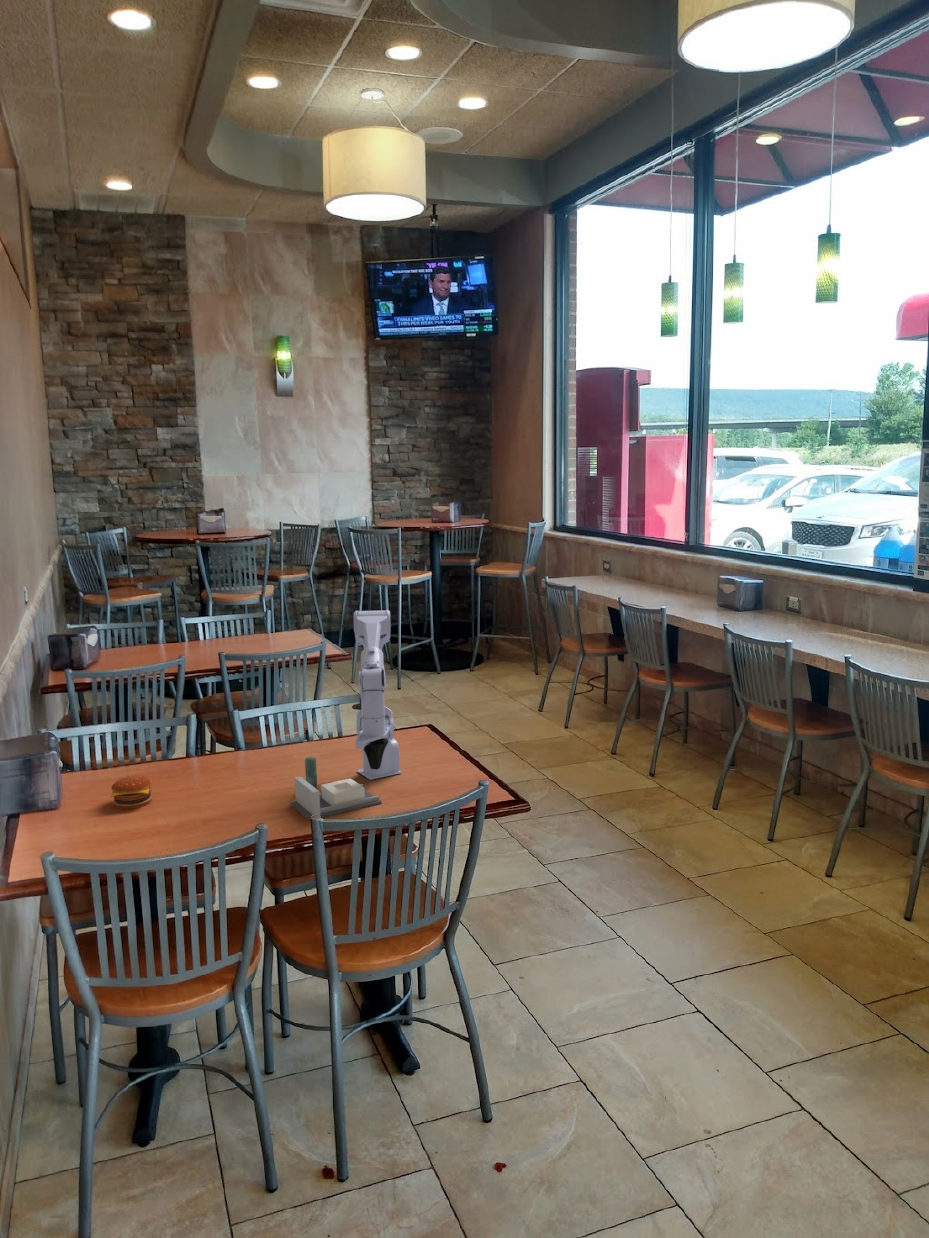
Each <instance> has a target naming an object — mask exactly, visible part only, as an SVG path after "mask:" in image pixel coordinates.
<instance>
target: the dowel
mask: <svg viewBox="0 0 929 1238" xmlns="http://www.w3.org/2000/svg"><path fill="white" fill-rule="evenodd" d="M304 767H305V768H304V771H305V780H306V781H307V782H308V783H310V784H311V785H312V786H313V787H315V788H316V789H317V790H318V774H317V772H318V771H317V758H316V757H312V756H310V757H306V758H305V759H304Z"/></svg>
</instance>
